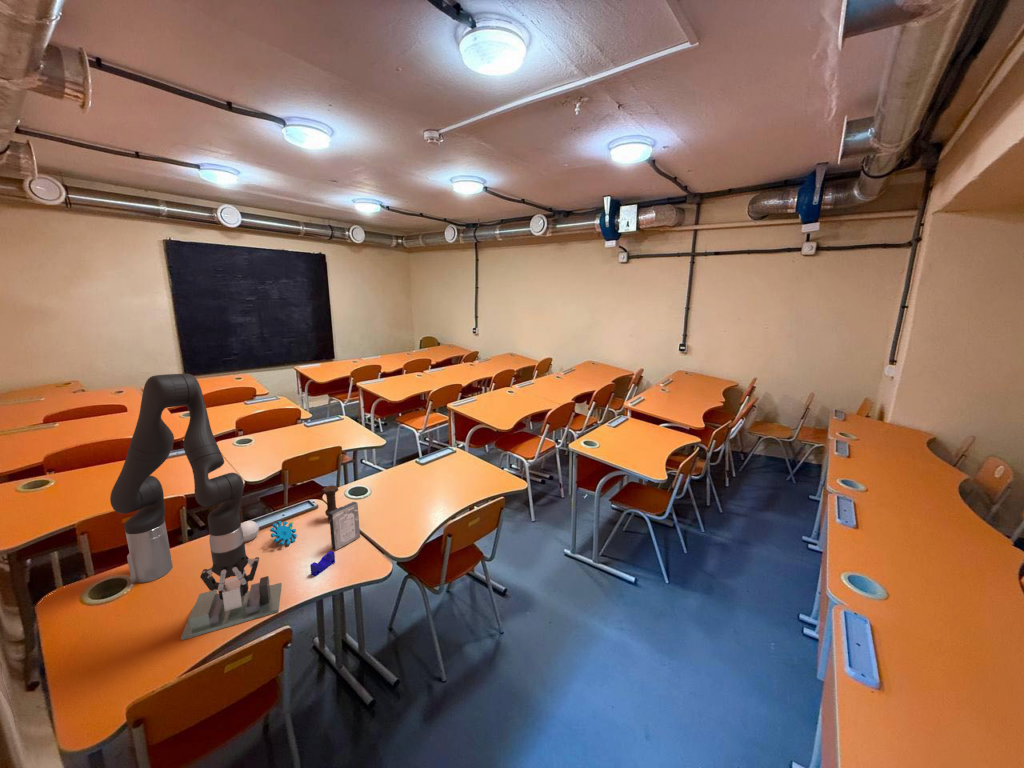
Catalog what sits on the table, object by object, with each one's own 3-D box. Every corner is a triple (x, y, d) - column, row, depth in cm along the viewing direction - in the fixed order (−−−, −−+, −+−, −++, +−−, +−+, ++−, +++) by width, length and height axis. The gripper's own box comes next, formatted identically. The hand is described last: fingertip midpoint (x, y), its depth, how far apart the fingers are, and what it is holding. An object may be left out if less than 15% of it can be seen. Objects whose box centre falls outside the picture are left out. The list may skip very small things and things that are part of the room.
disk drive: (335, 551, 137) (332, 514, 134) (331, 548, 139) (328, 511, 136) (360, 537, 146) (358, 502, 143) (356, 535, 147) (354, 500, 144)
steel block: (224, 611, 106) (222, 592, 105) (229, 597, 111) (226, 579, 110) (242, 606, 108) (239, 588, 107) (245, 592, 113) (243, 575, 112)
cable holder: (327, 559, 133) (326, 549, 132) (335, 562, 132) (334, 552, 131) (308, 574, 126) (306, 563, 125) (315, 577, 124) (314, 566, 124)
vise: (181, 640, 100) (178, 624, 99) (194, 608, 110) (191, 593, 109) (278, 612, 110) (276, 597, 109) (281, 585, 120) (280, 571, 119)
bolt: (342, 521, 156) (339, 488, 153) (330, 526, 152) (327, 492, 149) (335, 516, 160) (332, 483, 157) (323, 521, 156) (320, 488, 153)
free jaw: (247, 615, 107) (244, 596, 106) (252, 591, 116) (250, 574, 114) (267, 609, 109) (265, 591, 108) (271, 586, 118) (269, 569, 117)
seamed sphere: (232, 541, 142) (230, 523, 140) (254, 532, 148) (252, 514, 147) (245, 550, 137) (243, 532, 135) (267, 540, 143) (265, 522, 141)
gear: (287, 548, 137) (266, 530, 135) (276, 558, 138) (256, 539, 136) (304, 530, 148) (285, 513, 146) (294, 539, 148) (275, 522, 147)
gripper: (191, 558, 99) (200, 614, 103) (255, 544, 106) (262, 597, 109) (199, 542, 106) (207, 595, 109) (259, 530, 112) (265, 580, 116)
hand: (234, 596), depth 109 cm, fingers closed on steel block, 4 cm apart
